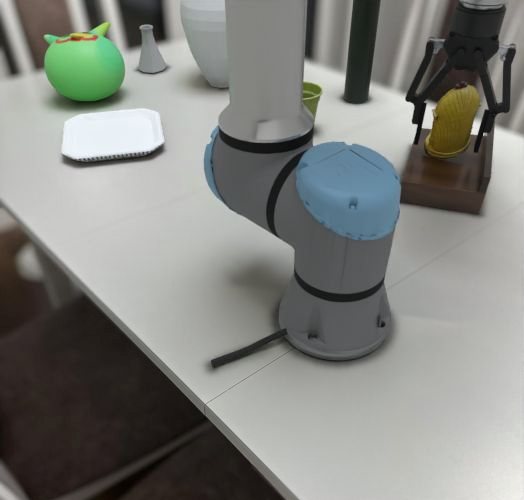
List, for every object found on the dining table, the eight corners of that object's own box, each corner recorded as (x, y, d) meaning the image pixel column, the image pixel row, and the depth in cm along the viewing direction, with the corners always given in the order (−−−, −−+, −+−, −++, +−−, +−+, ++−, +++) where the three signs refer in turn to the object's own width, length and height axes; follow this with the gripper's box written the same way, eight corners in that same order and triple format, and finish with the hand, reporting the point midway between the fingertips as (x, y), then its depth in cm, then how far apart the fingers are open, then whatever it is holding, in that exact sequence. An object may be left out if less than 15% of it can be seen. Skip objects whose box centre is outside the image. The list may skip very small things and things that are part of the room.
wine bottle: (338, 98, 126) (352, -59, 104) (354, 91, 128) (371, -63, 107) (357, 105, 123) (375, -55, 101) (372, 98, 126) (394, -59, 104)
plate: (62, 170, 104) (59, 159, 103) (67, 125, 118) (64, 115, 116) (167, 158, 107) (165, 147, 105) (159, 115, 121) (158, 106, 119)
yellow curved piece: (466, 174, 93) (492, 85, 82) (419, 169, 95) (438, 80, 84) (466, 144, 101) (490, 59, 90) (423, 140, 102) (441, 55, 91)
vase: (246, 99, 126) (242, -27, 107) (177, 92, 129) (161, -32, 111) (266, 72, 137) (266, -46, 119) (202, 66, 141) (192, -50, 123)
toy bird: (53, 115, 121) (32, 45, 111) (55, 88, 133) (36, 21, 122) (132, 107, 124) (119, 37, 113) (127, 80, 135) (115, 15, 125)
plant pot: (272, 138, 112) (272, 96, 106) (282, 120, 118) (283, 79, 112) (315, 143, 110) (317, 101, 104) (324, 124, 117) (326, 83, 110)
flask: (153, 75, 137) (147, 32, 130) (133, 70, 140) (125, 28, 133) (171, 67, 141) (166, 24, 134) (151, 62, 144) (144, 20, 137)
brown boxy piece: (478, 214, 92) (491, 177, 87) (397, 201, 95) (404, 165, 90) (484, 155, 106) (495, 121, 101) (413, 146, 109) (420, 112, 104)
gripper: (402, 4, 80) (380, 146, 96) (562, 15, 75) (510, 163, 91) (409, -9, 85) (387, 128, 101) (560, 1, 80) (511, 144, 96)
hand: (445, 145), depth 96 cm, fingers open, 10 cm apart
